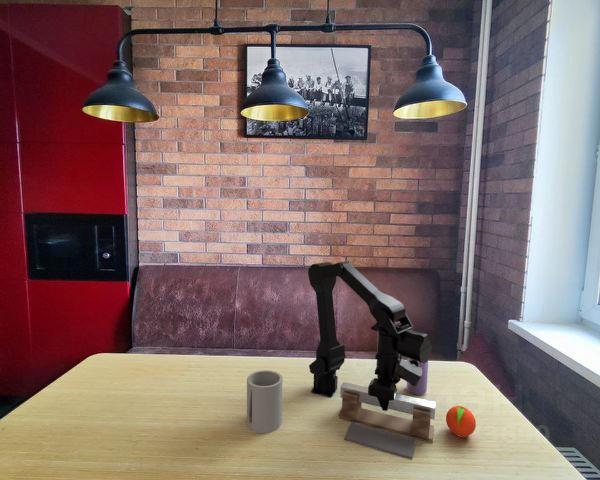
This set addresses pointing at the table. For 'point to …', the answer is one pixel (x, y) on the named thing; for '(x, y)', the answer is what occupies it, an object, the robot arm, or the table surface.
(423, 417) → the rack
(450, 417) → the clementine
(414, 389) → the beverage can
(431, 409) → the rail
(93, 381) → the table surface
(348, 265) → the robot arm
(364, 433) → the mat
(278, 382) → the cup
